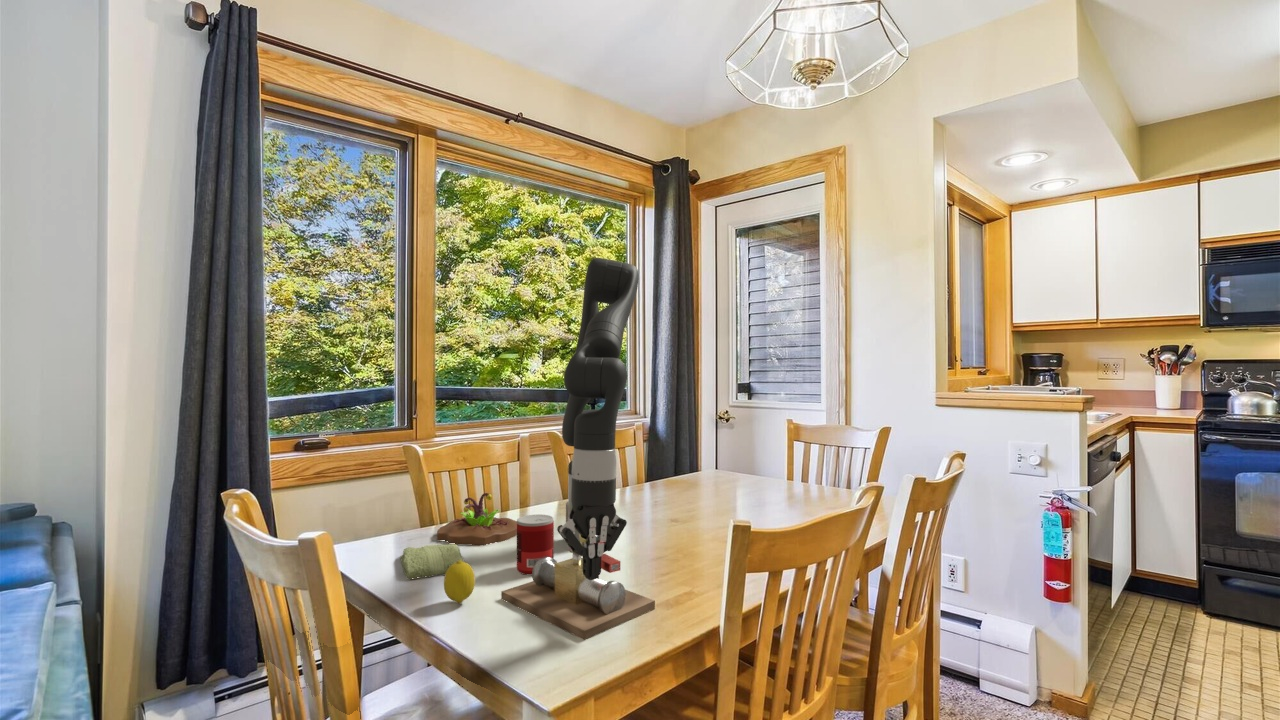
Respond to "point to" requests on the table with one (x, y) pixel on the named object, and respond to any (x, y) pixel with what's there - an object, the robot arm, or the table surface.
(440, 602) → the table surface
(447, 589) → the lemon
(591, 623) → the walnut board
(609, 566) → the valve lever
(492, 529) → the plant
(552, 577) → the valve body
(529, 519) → the canned food
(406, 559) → the washcloth
